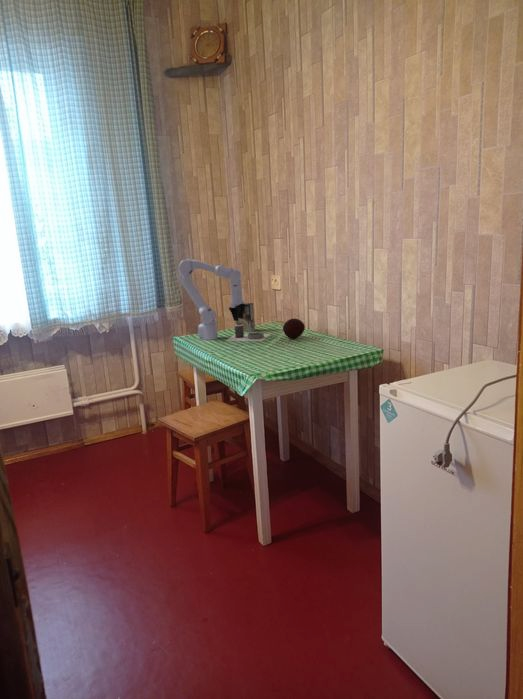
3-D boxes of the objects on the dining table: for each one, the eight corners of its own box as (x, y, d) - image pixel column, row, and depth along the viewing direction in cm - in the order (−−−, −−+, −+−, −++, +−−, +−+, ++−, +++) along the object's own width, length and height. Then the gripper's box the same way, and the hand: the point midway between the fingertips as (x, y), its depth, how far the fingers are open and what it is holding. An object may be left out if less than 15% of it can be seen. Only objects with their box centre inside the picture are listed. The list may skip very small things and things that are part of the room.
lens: (234, 337, 268) (233, 324, 266) (236, 336, 272) (236, 323, 271) (242, 337, 267) (241, 324, 265) (245, 336, 271) (244, 323, 269)
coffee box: (255, 331, 288) (253, 302, 284) (252, 333, 282) (250, 304, 278) (240, 331, 290) (238, 303, 287) (236, 333, 284) (234, 304, 281)
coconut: (307, 335, 267) (306, 315, 265) (302, 341, 255) (301, 320, 252) (286, 335, 270) (285, 316, 268) (280, 341, 257) (279, 320, 255)
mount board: (224, 342, 263) (224, 336, 262) (235, 336, 278) (234, 330, 277) (262, 342, 257) (262, 336, 256) (270, 336, 272) (270, 330, 271)
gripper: (239, 295, 256) (241, 321, 259) (248, 291, 270) (250, 316, 273) (226, 295, 258) (228, 322, 261) (235, 291, 272) (237, 317, 275)
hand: (238, 319), depth 267 cm, fingers open, 7 cm apart
